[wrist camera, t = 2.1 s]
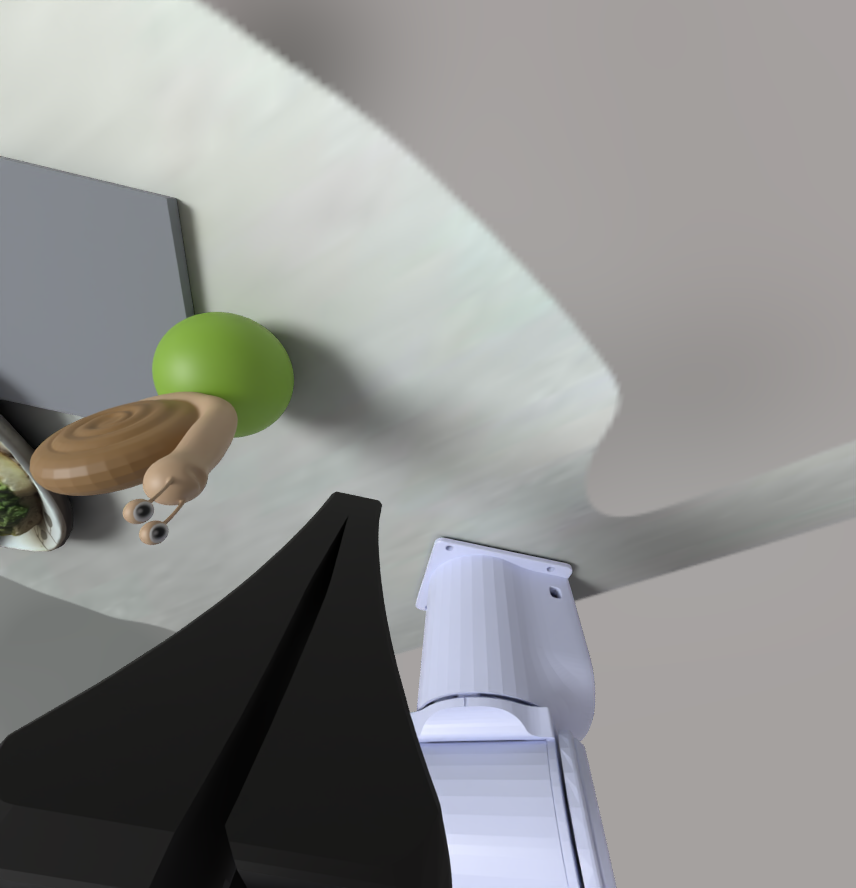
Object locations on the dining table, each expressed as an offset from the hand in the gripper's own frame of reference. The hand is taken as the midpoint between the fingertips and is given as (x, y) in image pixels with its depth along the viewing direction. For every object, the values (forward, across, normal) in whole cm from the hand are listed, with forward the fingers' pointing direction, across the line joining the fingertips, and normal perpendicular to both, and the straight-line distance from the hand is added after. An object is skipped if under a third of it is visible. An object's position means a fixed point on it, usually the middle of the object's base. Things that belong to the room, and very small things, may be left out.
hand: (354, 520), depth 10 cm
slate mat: (+10, +18, 0) cm, 20 cm away
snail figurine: (+10, +7, 0) cm, 12 cm away
